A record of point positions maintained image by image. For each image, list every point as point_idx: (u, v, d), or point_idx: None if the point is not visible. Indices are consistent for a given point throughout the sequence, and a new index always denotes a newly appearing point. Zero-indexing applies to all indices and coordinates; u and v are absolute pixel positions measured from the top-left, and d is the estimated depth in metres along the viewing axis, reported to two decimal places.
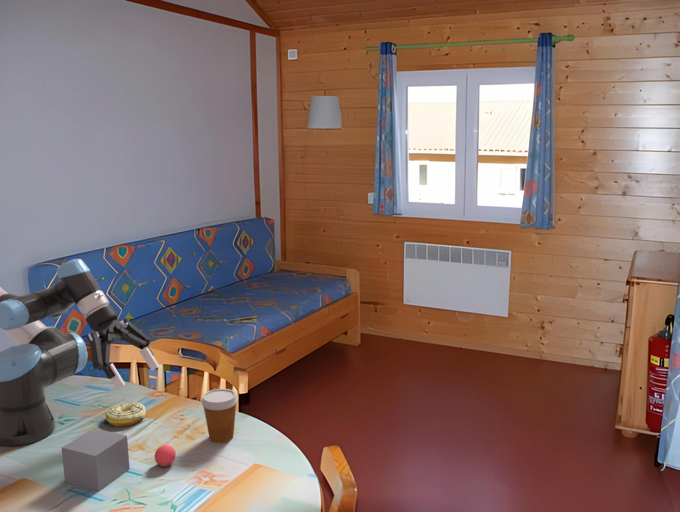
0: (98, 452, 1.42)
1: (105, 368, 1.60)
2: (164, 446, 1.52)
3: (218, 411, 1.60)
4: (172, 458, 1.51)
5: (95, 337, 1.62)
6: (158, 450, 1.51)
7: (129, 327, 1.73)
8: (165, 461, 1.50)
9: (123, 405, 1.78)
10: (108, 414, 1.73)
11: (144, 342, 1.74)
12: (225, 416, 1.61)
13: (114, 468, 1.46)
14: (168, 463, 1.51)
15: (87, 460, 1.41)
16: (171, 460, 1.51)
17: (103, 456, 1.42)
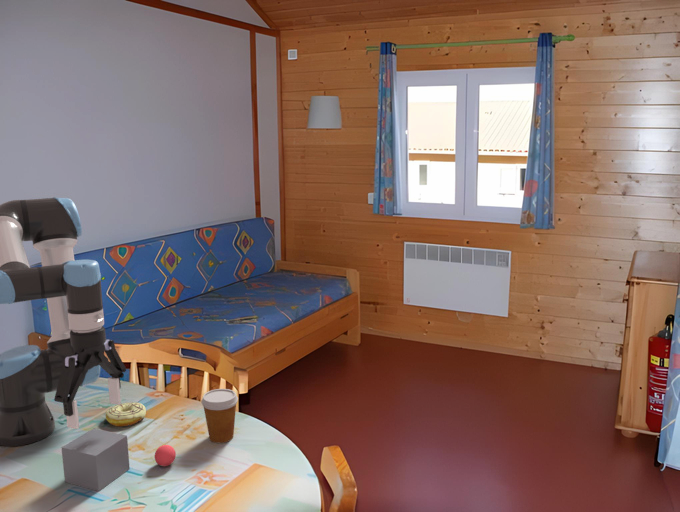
0: (98, 452, 1.42)
1: (66, 404, 1.37)
2: (164, 446, 1.52)
3: (218, 411, 1.60)
4: (172, 458, 1.51)
5: (72, 366, 1.37)
6: (158, 450, 1.51)
7: (110, 351, 1.49)
8: (165, 461, 1.50)
9: (123, 405, 1.78)
10: (108, 414, 1.73)
11: (118, 372, 1.51)
12: (225, 416, 1.61)
13: (114, 468, 1.46)
14: (168, 463, 1.51)
15: (87, 460, 1.41)
16: (171, 460, 1.51)
17: (103, 456, 1.42)
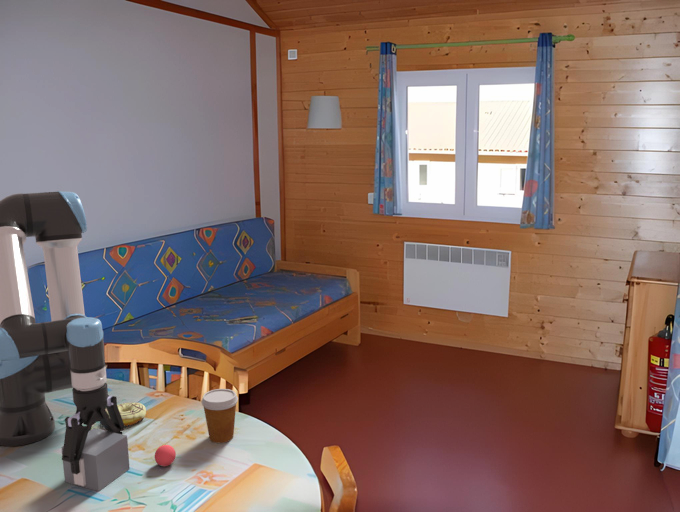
0: (98, 452, 1.42)
1: (73, 463, 1.40)
2: (164, 446, 1.52)
3: (218, 411, 1.60)
4: (172, 458, 1.51)
5: (75, 426, 1.39)
6: (158, 450, 1.51)
7: (112, 408, 1.50)
8: (165, 461, 1.50)
9: (123, 405, 1.78)
10: (108, 414, 1.73)
11: (116, 431, 1.52)
12: (225, 416, 1.61)
13: (114, 468, 1.46)
14: (168, 463, 1.51)
15: (87, 460, 1.41)
16: (171, 460, 1.51)
17: (103, 456, 1.42)
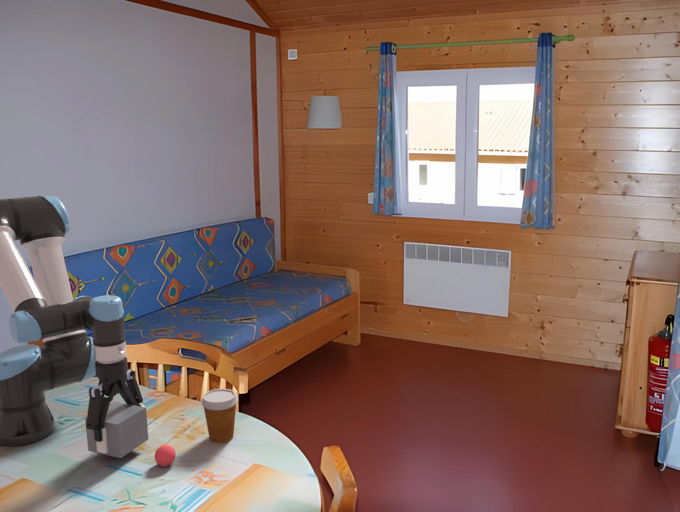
0: (120, 421, 1.51)
1: (96, 431, 1.50)
2: (164, 446, 1.52)
3: (218, 411, 1.60)
4: (172, 458, 1.51)
5: (98, 397, 1.48)
6: (158, 450, 1.51)
7: (131, 381, 1.60)
8: (165, 461, 1.50)
9: None
10: None
11: (135, 403, 1.61)
12: (225, 416, 1.61)
13: (134, 437, 1.55)
14: (168, 463, 1.51)
15: (109, 429, 1.51)
16: (171, 460, 1.51)
17: (124, 425, 1.52)
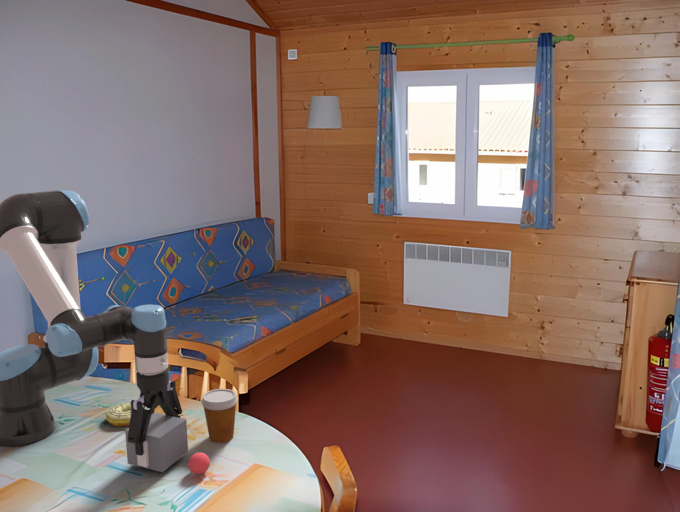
0: (161, 434, 1.47)
1: (138, 444, 1.45)
2: None
3: (218, 411, 1.60)
4: (191, 456, 1.49)
5: (140, 409, 1.44)
6: None
7: (171, 392, 1.55)
8: (190, 461, 1.47)
9: (123, 405, 1.78)
10: (108, 414, 1.73)
11: (175, 415, 1.57)
12: (225, 416, 1.61)
13: (175, 450, 1.51)
14: (193, 457, 1.47)
15: (151, 442, 1.46)
16: (192, 456, 1.48)
17: (166, 438, 1.47)
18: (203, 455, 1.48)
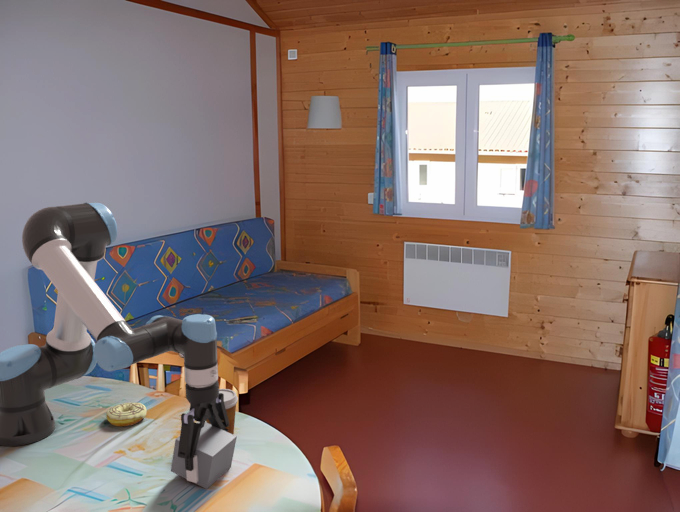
0: (214, 452, 1.41)
1: (188, 459, 1.40)
2: None
3: None
4: None
5: (191, 423, 1.39)
6: None
7: (219, 404, 1.50)
8: None
9: (124, 405, 1.78)
10: (109, 414, 1.73)
11: (223, 428, 1.52)
12: None
13: (221, 467, 1.46)
14: None
15: (202, 458, 1.41)
16: None
17: (217, 456, 1.42)
18: None
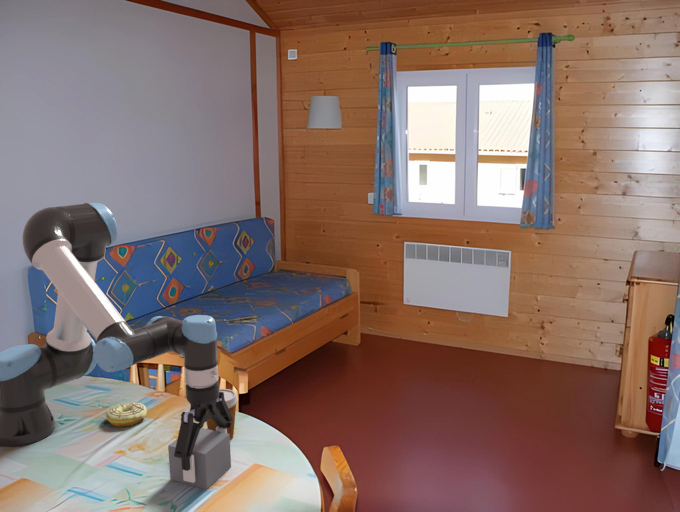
0: (206, 450, 1.42)
1: (185, 459, 1.39)
2: None
3: None
4: None
5: (191, 422, 1.39)
6: None
7: (220, 403, 1.50)
8: None
9: (124, 405, 1.78)
10: (109, 414, 1.73)
11: (226, 423, 1.52)
12: None
13: (219, 466, 1.47)
14: None
15: (195, 458, 1.42)
16: None
17: (211, 454, 1.43)
18: None
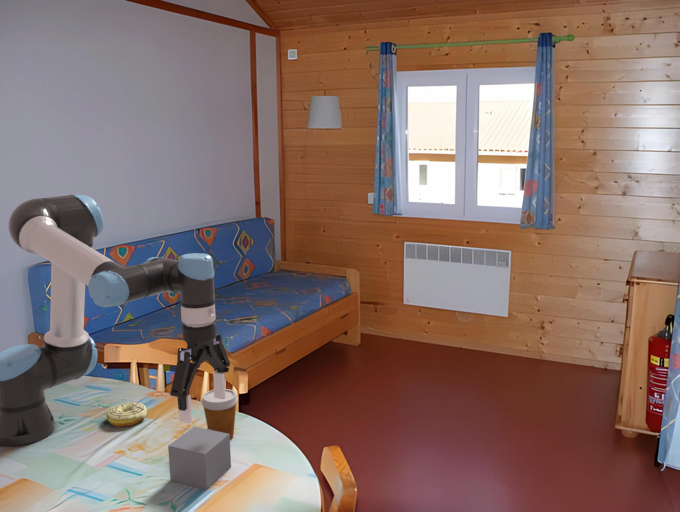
0: (206, 450, 1.42)
1: (181, 399, 1.36)
2: None
3: (218, 411, 1.60)
4: None
5: (187, 360, 1.36)
6: None
7: (217, 346, 1.47)
8: None
9: (124, 405, 1.78)
10: (109, 414, 1.73)
11: (223, 367, 1.50)
12: (225, 416, 1.61)
13: (219, 466, 1.47)
14: None
15: (195, 458, 1.42)
16: None
17: (211, 454, 1.43)
18: None
